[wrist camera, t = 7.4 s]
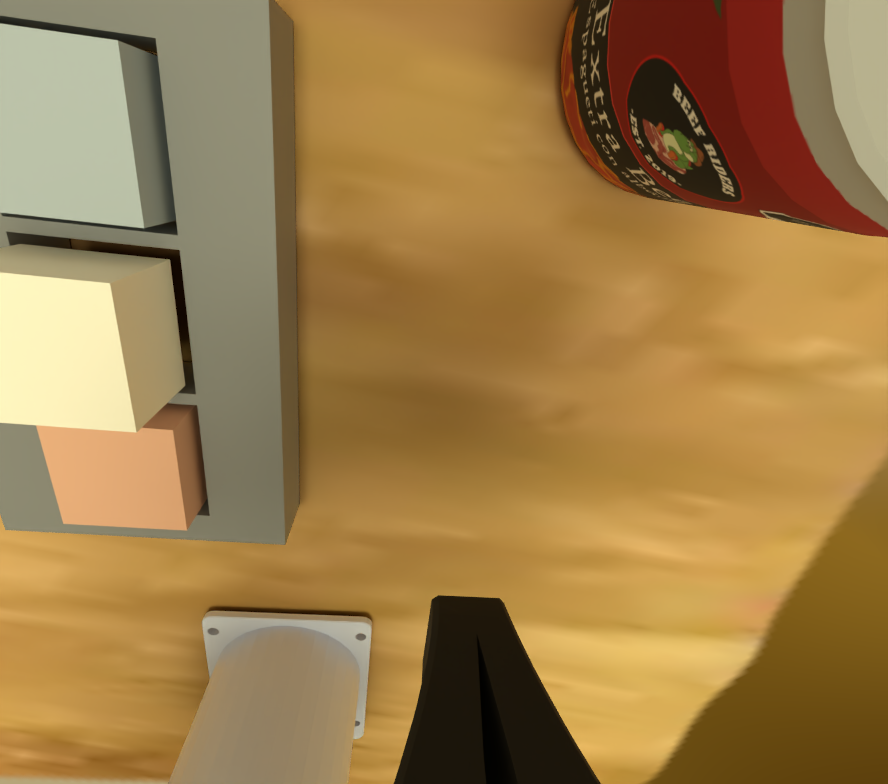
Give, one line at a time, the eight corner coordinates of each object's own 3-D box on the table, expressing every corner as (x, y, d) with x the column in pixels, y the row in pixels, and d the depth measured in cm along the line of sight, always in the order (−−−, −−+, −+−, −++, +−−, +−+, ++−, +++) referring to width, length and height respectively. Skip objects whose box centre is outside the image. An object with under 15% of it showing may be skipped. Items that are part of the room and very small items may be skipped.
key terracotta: (219, 478, 19) (186, 530, 17) (113, 472, 19) (63, 523, 16) (210, 388, 18) (173, 430, 15) (94, 379, 17) (34, 420, 15)
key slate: (193, 216, 15) (144, 228, 12) (56, 200, 15) (-25, 209, 12) (178, 64, 13) (117, 40, 11) (23, 43, 13) (-79, 12, 10)
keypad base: (299, 503, 21) (285, 544, 19) (52, 488, 20) (5, 529, 18) (293, 21, 14) (268, -7, 11) (-95, -38, 13) (-205, -80, 10)
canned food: (502, 38, 14) (701, -253, 4) (758, -199, 12) (2216, -1743, 2) (629, 248, 17) (928, 373, 7) (853, 81, 15) (1699, -72, 5)
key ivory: (185, 385, 16) (136, 432, 13) (53, 374, 15) (-27, 420, 12) (169, 259, 14) (110, 283, 11) (20, 243, 14) (-80, 264, 11)
